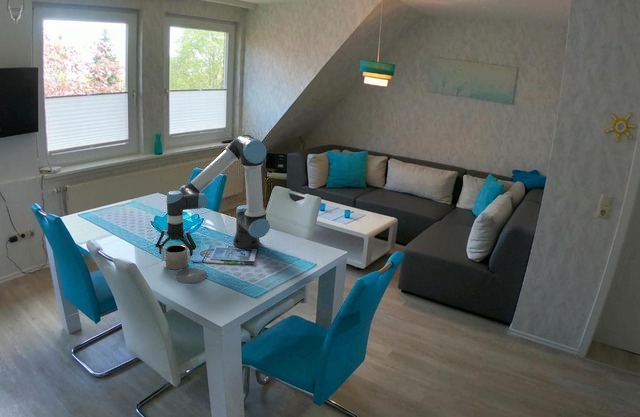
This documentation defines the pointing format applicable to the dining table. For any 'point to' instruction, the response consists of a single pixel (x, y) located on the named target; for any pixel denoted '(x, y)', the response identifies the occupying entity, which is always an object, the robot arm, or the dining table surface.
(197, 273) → the saucer
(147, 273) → the dining table surface
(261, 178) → the robot arm
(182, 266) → the planter
